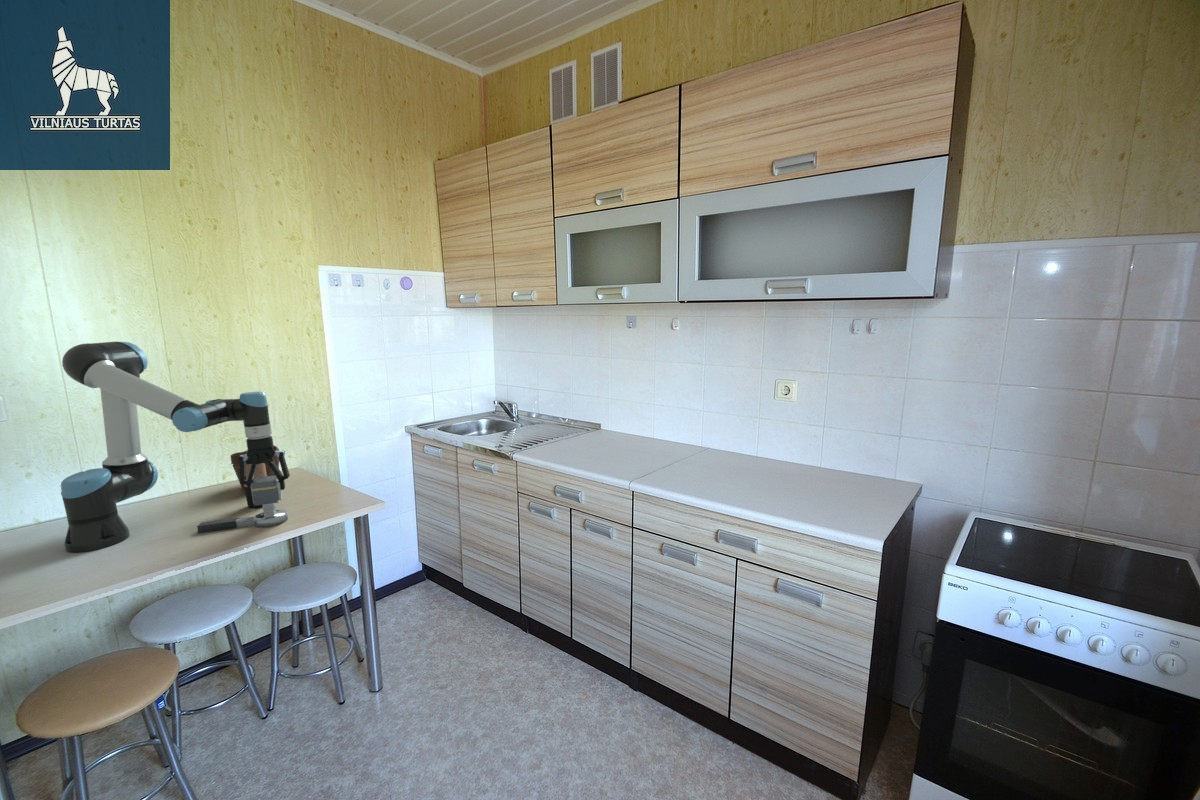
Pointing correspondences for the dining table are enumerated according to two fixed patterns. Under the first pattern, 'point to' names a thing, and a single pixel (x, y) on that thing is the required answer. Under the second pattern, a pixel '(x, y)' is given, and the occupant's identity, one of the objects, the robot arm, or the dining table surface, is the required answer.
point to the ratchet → (247, 520)
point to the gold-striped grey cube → (265, 490)
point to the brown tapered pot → (237, 464)
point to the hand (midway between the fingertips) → (268, 500)
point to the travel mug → (259, 473)
